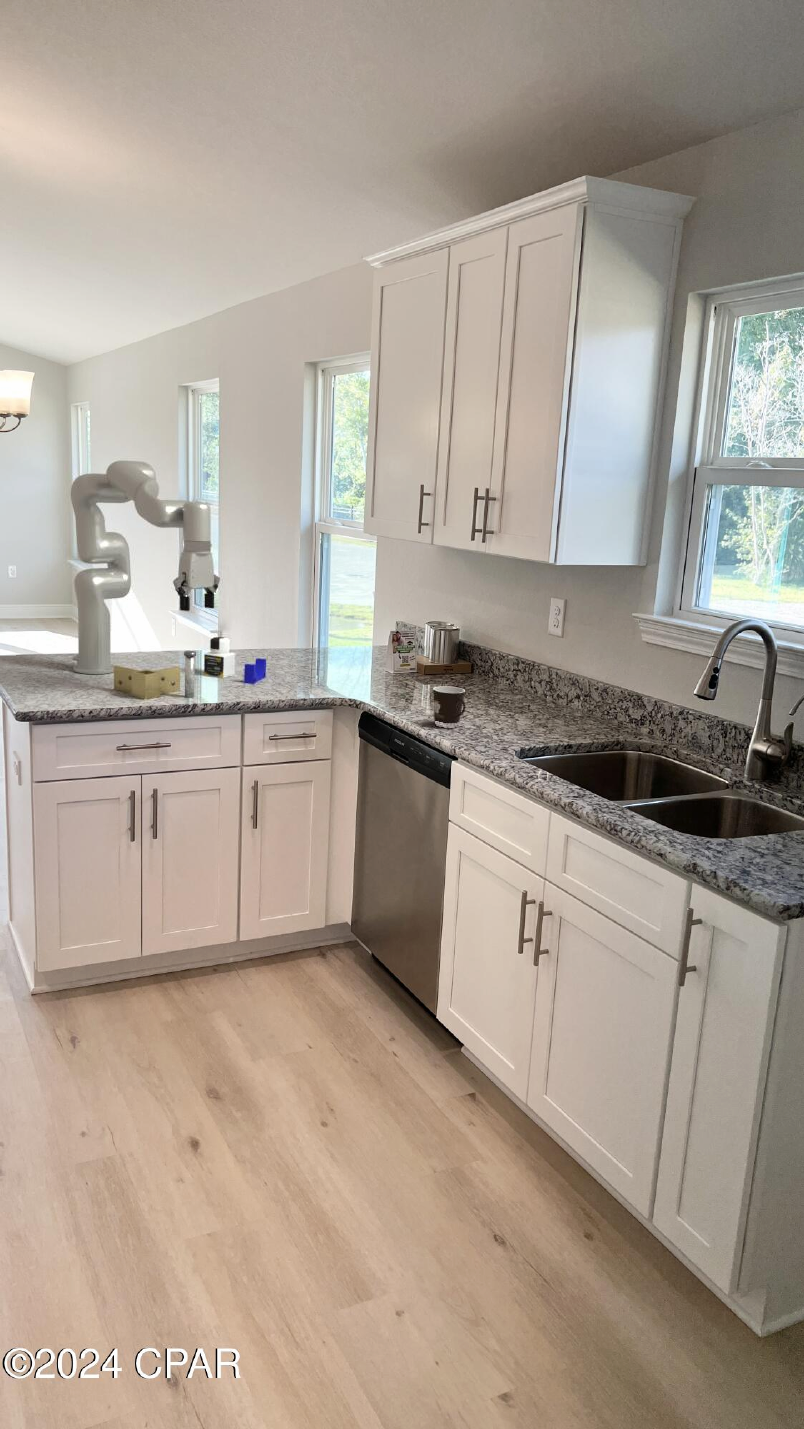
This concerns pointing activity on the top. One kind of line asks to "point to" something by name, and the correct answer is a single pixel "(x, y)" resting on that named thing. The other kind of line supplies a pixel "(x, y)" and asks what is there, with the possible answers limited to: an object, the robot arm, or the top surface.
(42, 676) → the top surface
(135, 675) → the hinge
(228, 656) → the medicine bottle
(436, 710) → the coffee mug
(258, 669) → the cable clip
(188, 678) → the pin
